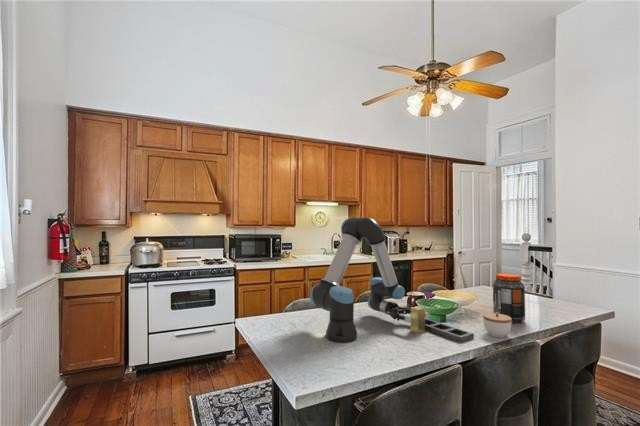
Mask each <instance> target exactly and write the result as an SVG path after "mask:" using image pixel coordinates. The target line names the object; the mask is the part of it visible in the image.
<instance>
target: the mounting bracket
mask: <svg viewBox="0 0 640 426" xmlns="http://www.w3.org/2000/svg"><path fill="white" fill-rule="evenodd" d="M421 293H424V294H425V295H426V298H432V297H434V296H436V294H435V293H433V292H429V291H427V290H426V291H425V290H423V291H422V292H421Z"/></svg>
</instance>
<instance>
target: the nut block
mask: <svg viewBox="0 0 640 426" xmlns="http://www.w3.org/2000/svg"><path fill="white" fill-rule="evenodd" d="M425 312H426V308H425V307H419V306H415V307H411V314H410V317H411V323H410V332H413V333H414V334H418V335H420V334H423V333H425V332H426V330H425V319H426V318H425Z"/></svg>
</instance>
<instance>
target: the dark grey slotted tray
mask: <svg viewBox="0 0 640 426" xmlns="http://www.w3.org/2000/svg"><path fill="white" fill-rule="evenodd" d="M425 331H426V332H430V333H433V334H436V335H439V336H440V337H443V338H446V339H449V340H452V341H455V342H458V343H460V344H461V343H465V342H468V341H471V340H474V339H475V334H474V333H473V332H470V331H468V330H465V329H464V330H463V329H461V328H457V327H454V326H451V325H448V324H445V323H442V322H440V321H439V322H438V321H436V320H433V319H429V318H425Z"/></svg>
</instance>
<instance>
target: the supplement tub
mask: <svg viewBox="0 0 640 426" xmlns="http://www.w3.org/2000/svg"><path fill="white" fill-rule="evenodd" d="M495 278H496V279H495V280H494V281H493V283H492V299H493V300H492V301H493V302H492V304H493V309H492V310H493V311H492V313H496V312H498V314H503V315H507V316H509V317H511V318H512V324H523V323H524V322H525V321H526V300H525V299H526V296H525V295H526V293H525V290H526V289H525V285H524V283H523V282H522V276H521V275H519V274H515V273H509V272H508V273H506V272H505V273H504V272H502V273H496V274H495Z"/></svg>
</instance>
